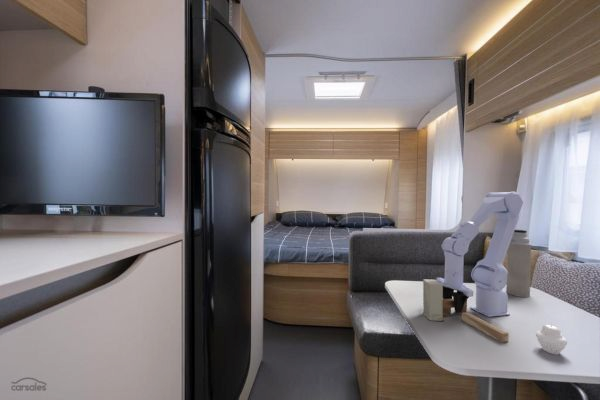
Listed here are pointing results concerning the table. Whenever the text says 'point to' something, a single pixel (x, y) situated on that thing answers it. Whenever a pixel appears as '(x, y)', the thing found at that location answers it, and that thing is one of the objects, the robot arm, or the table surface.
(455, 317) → the table surface
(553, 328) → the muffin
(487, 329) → the oak rail
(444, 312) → the tall wooden block
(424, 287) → the skincare box
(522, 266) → the thermos bottle
